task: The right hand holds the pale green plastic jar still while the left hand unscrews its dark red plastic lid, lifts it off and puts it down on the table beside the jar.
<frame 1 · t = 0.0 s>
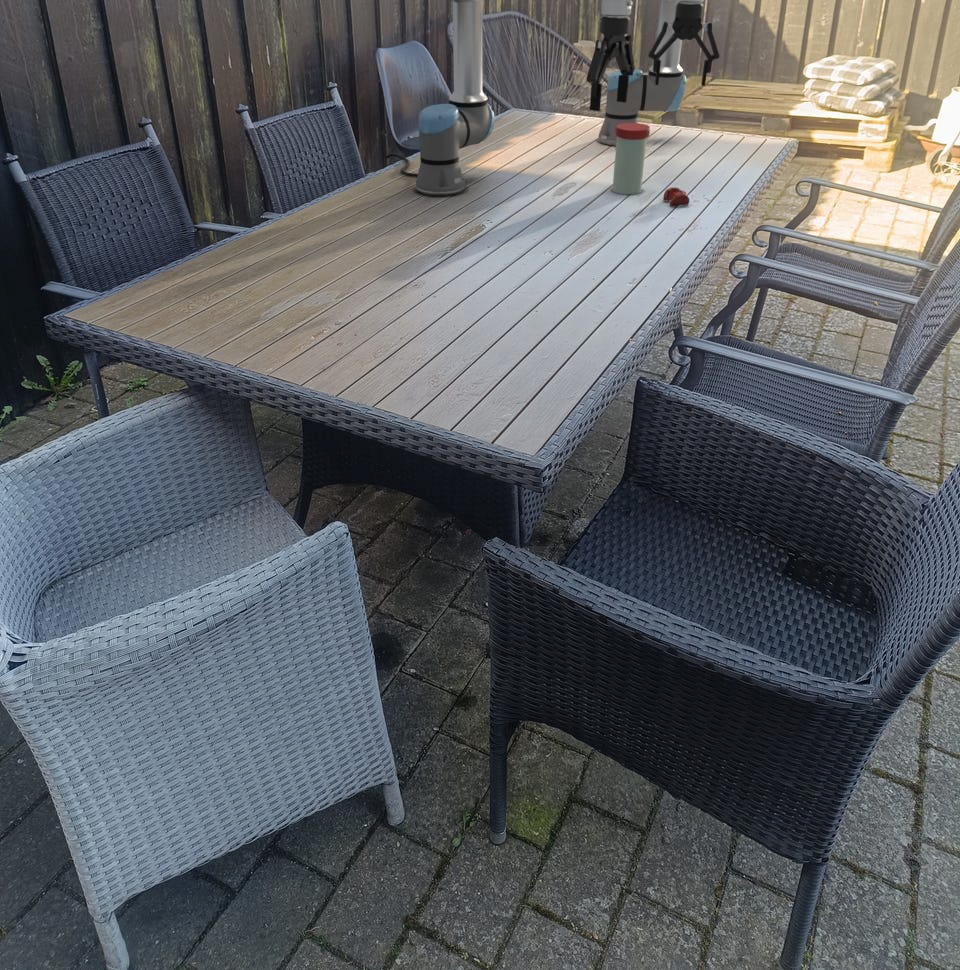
left hand: (608, 106, 226), 28 cm above the table, tool pointing down, fingers open, 13 cm apart
right hand: (679, 84, 250), 28 cm above the table, tool pointing down, fingers open, 13 cm apart
dental model: (675, 203, 248), on the table
jar: (626, 190, 258), on the table
lid: (632, 127, 248), point 18 cm above the table, screwed on, not yet turned
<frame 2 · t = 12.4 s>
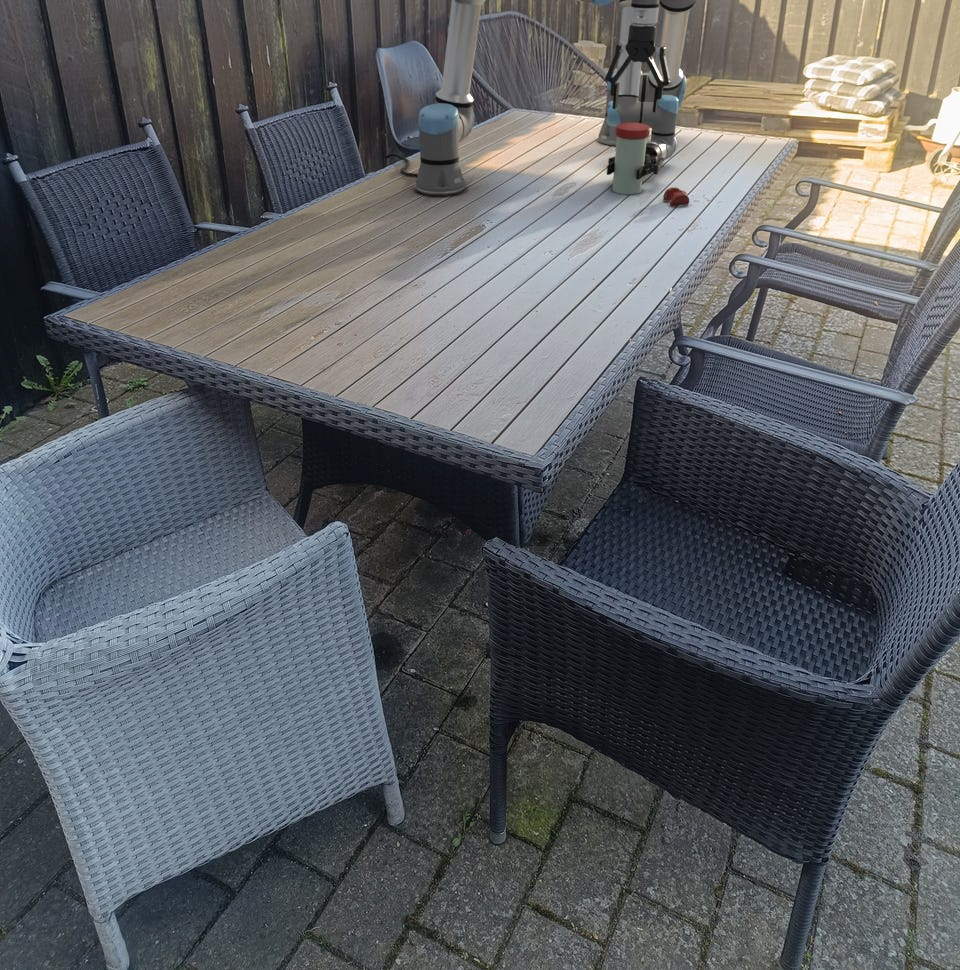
left hand: (634, 109, 245), 23 cm above the table, tool pointing down, fingers open, 11 cm apart
right hand: (622, 172, 251), 6 cm above the table, tool horizontal, fingers closed on jar, 9 cm apart
jar: (626, 190, 258), on the table, touching right hand
everything else where it was.
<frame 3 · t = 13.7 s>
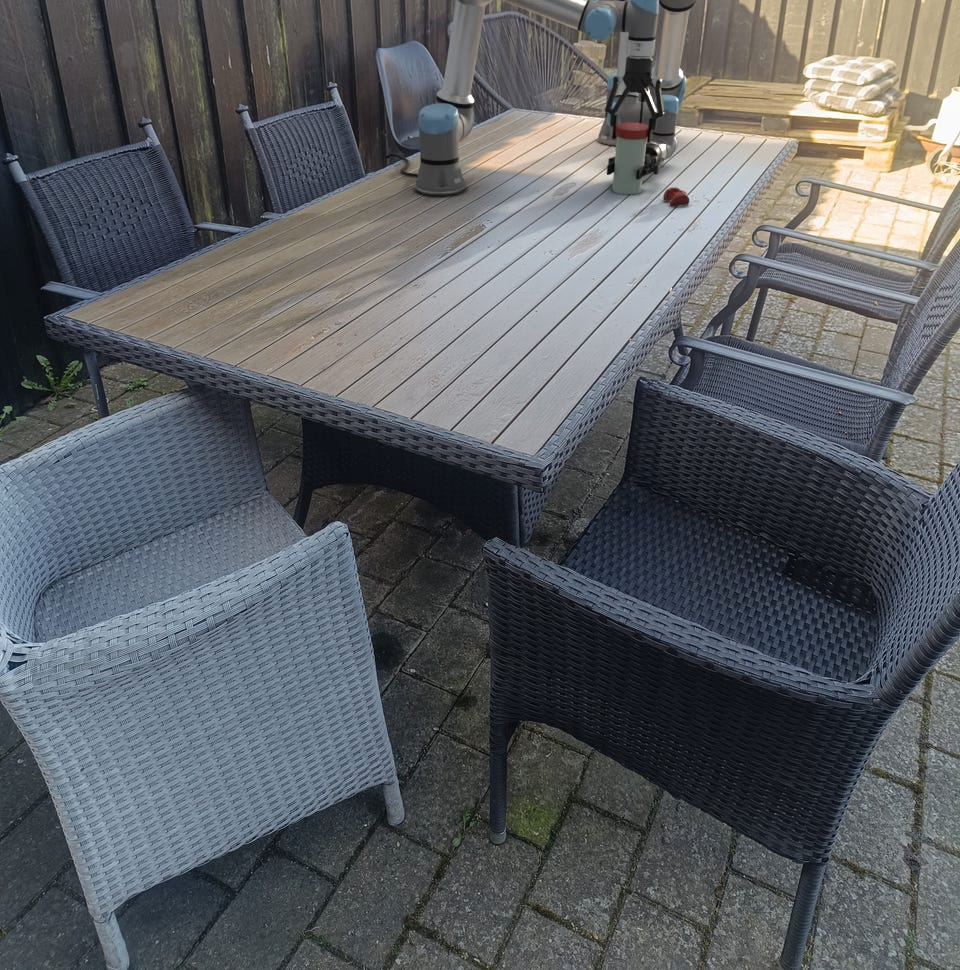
left hand: (631, 139, 250), 15 cm above the table, tool pointing down, fingers closed on lid, 10 cm apart
right hand: (622, 172, 251), 6 cm above the table, tool horizontal, fingers closed on jar, 9 cm apart
jar: (626, 190, 258), on the table, touching right hand
lid: (632, 127, 248), point 18 cm above the table, screwed on, not yet turned, touching left hand
everything else where it was.
when the left hand's fingers open (15 cm above the table, at t = 15.3 s): lid stays where it is, point 18 cm above the table.
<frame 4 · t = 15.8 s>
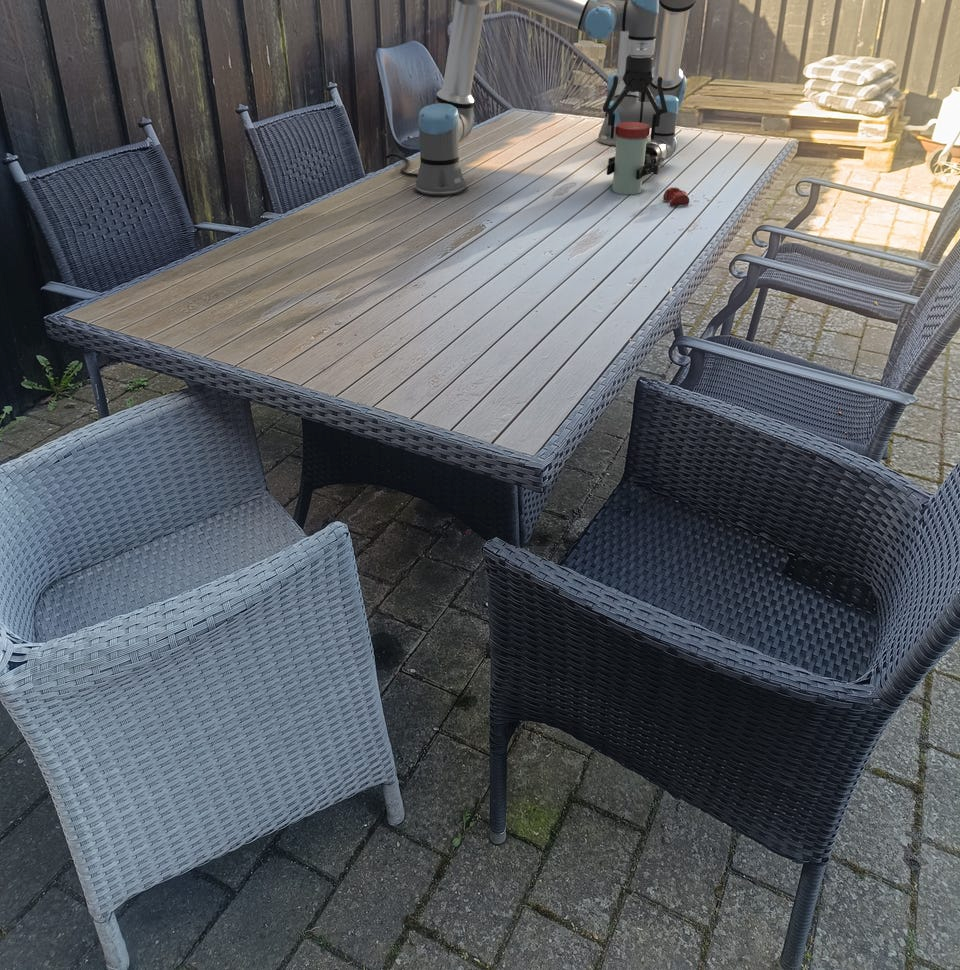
left hand: (631, 137, 249), 15 cm above the table, tool pointing down, fingers open, 11 cm apart
right hand: (622, 172, 251), 6 cm above the table, tool horizontal, fingers closed on jar, 9 cm apart
jar: (626, 190, 258), on the table, touching right hand
lid: (632, 127, 247), point 18 cm above the table, turned 84° so far, risen 0.2 cm, still on its thread
everything else where it was.
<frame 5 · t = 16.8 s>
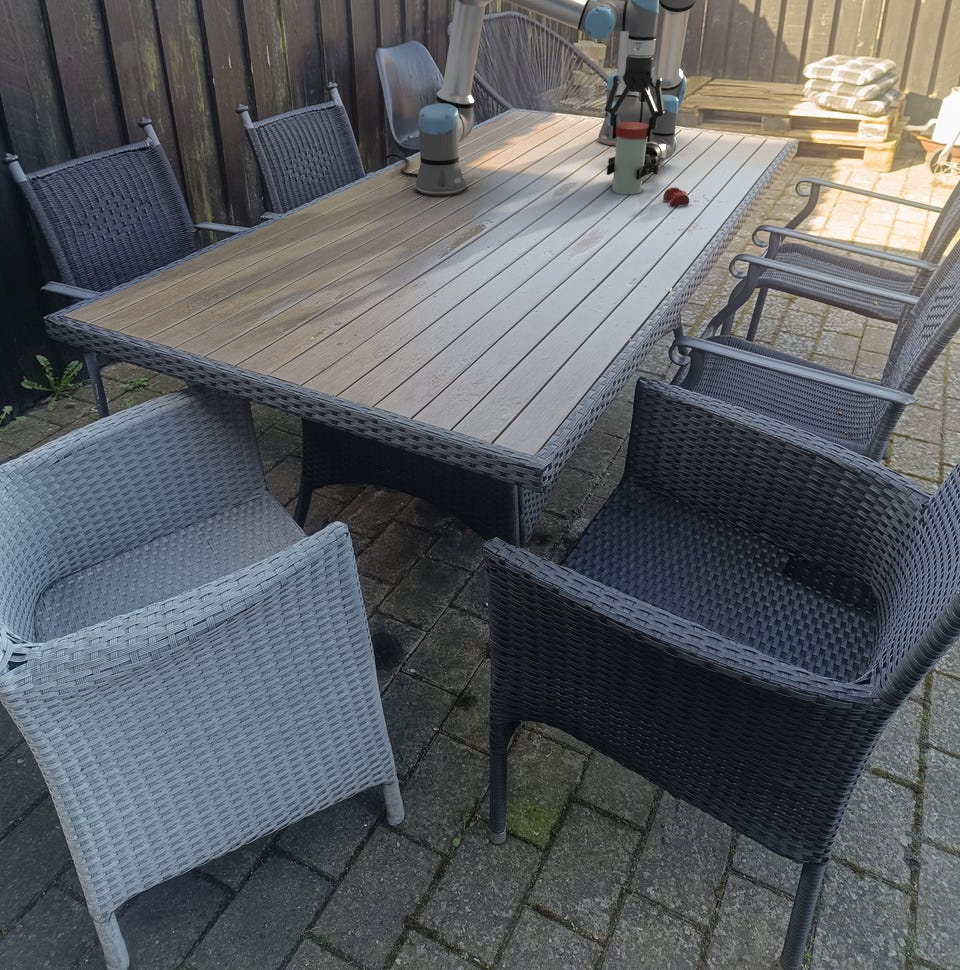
left hand: (631, 139, 249), 15 cm above the table, tool pointing down, fingers closed on lid, 10 cm apart
right hand: (622, 172, 251), 6 cm above the table, tool horizontal, fingers closed on jar, 9 cm apart
jar: (626, 190, 258), on the table, touching right hand
lid: (632, 127, 247), point 18 cm above the table, turned 84° so far, risen 0.2 cm, still on its thread, touching left hand
everything else where it was.
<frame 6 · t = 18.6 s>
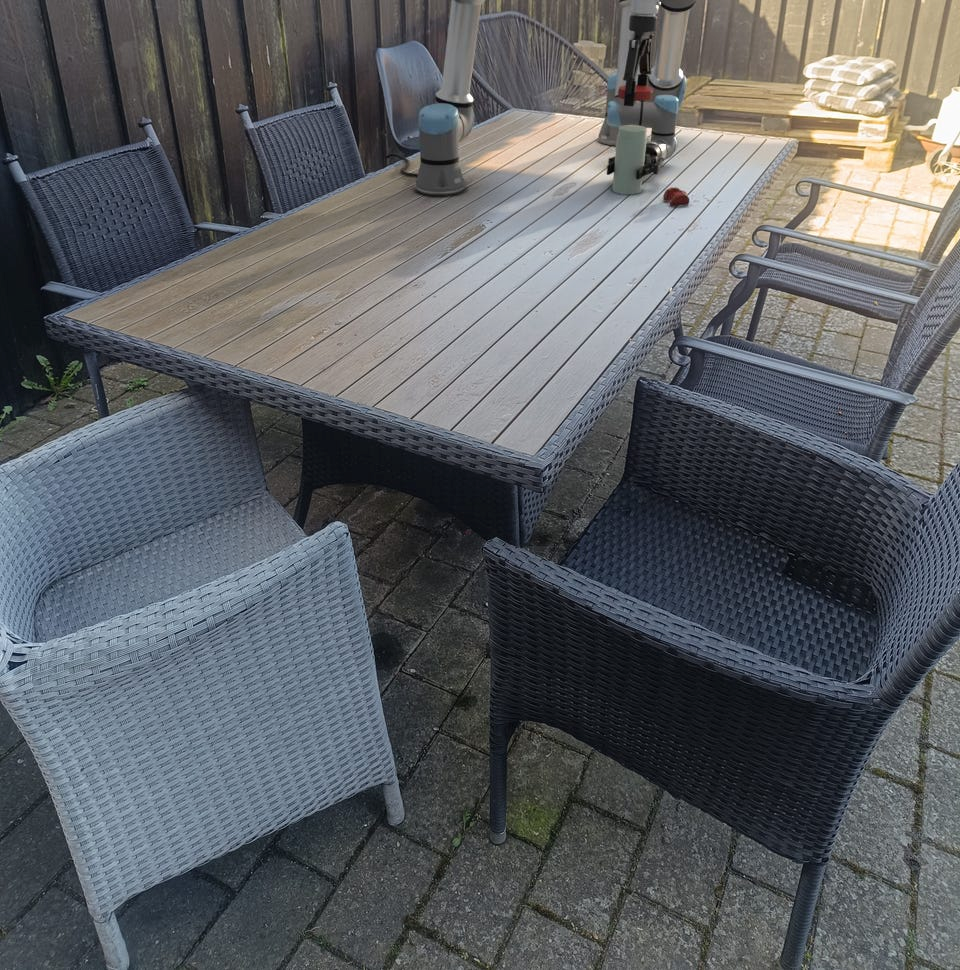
left hand: (634, 102, 244), 25 cm above the table, tool pointing down, fingers closed on lid, 10 cm apart
right hand: (622, 172, 251), 6 cm above the table, tool horizontal, fingers closed on jar, 9 cm apart
jar: (626, 190, 258), on the table, touching right hand
lid: (635, 89, 242), point 28 cm above the table, off its thread, touching left hand
everything else where it was.
when the left hand's fingers open (0 cm above the table, at t = 24.1 s): lid drops 2 cm, point 2 cm above the table.
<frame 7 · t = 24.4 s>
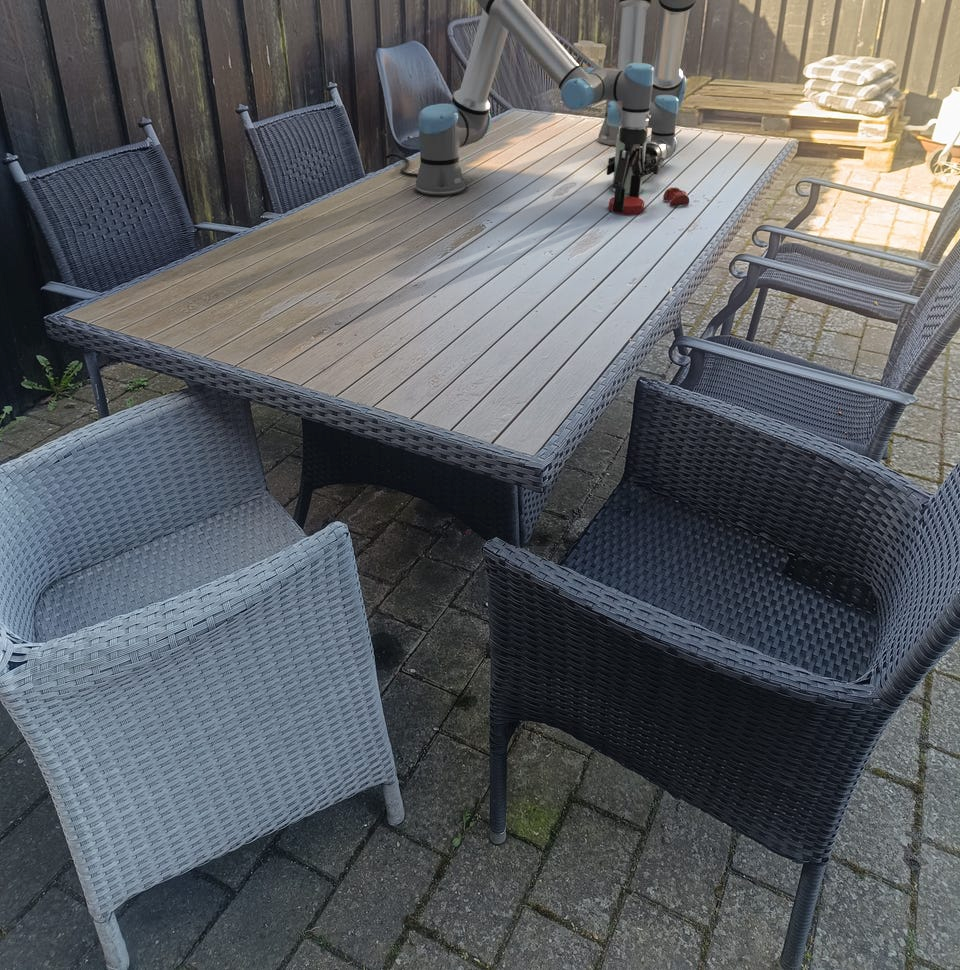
left hand: (626, 205, 242), 1 cm above the table, tool pointing down, fingers open, 13 cm apart
right hand: (622, 172, 251), 6 cm above the table, tool horizontal, fingers closed on jar, 9 cm apart
jar: (626, 190, 258), on the table, touching right hand
lid: (626, 202, 242), point 2 cm above the table, off its thread
everything else where it was.
when the right hand's fingers open (6 cm above the table, at t = 25.1 s): jar stays where it is, on the table.
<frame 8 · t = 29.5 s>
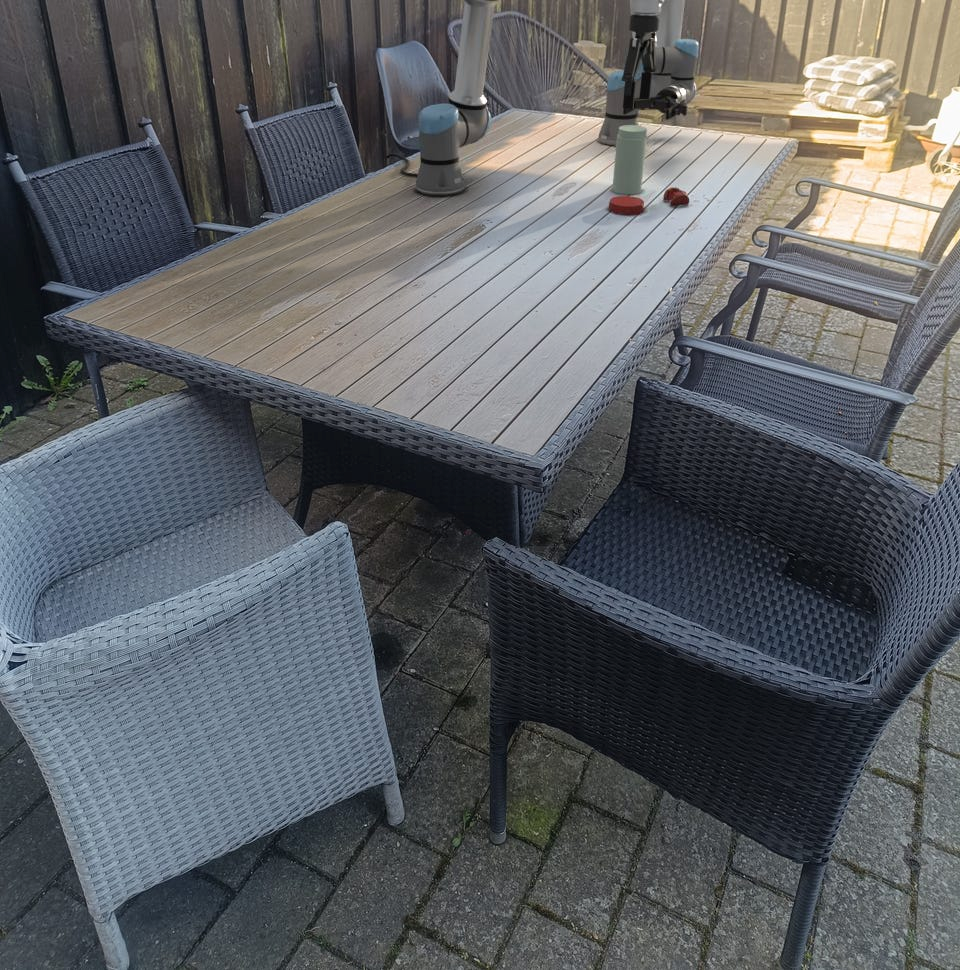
left hand: (636, 103, 226), 28 cm above the table, tool pointing down, fingers open, 13 cm apart
right hand: (645, 112, 253), 21 cm above the table, tool horizontal, fingers open, 13 cm apart
jar: (626, 190, 258), on the table
everything else where it was.
at the end: lid came off its thread; lid point 2.1 cm above the table; the left hand is holding nothing; the right hand is holding nothing; jar tilted 0°; jar moved 0.0 cm from its start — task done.
